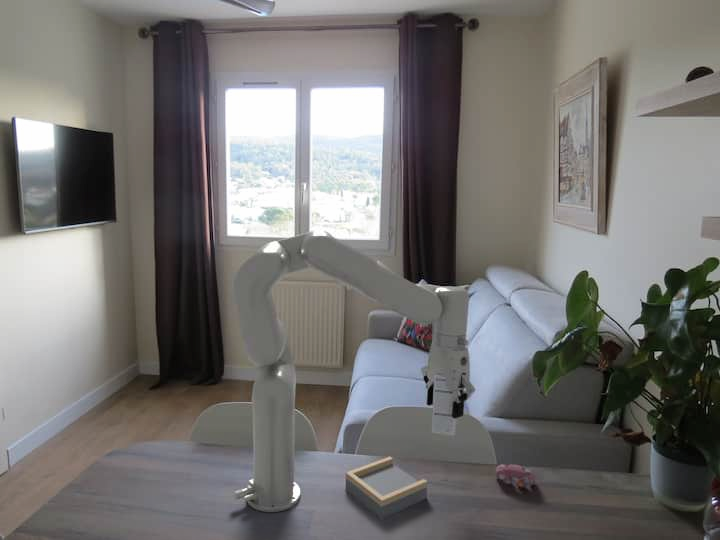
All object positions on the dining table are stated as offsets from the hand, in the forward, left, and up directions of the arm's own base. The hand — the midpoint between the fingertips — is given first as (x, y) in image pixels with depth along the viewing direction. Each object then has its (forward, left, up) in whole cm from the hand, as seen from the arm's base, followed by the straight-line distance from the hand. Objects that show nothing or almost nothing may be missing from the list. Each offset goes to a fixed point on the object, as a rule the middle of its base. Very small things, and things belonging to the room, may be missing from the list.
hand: (444, 410), depth 124 cm
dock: (-11, +7, -21) cm, 25 cm away
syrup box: (0, 0, -5) cm, 5 cm away
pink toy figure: (+19, -8, -22) cm, 30 cm away
